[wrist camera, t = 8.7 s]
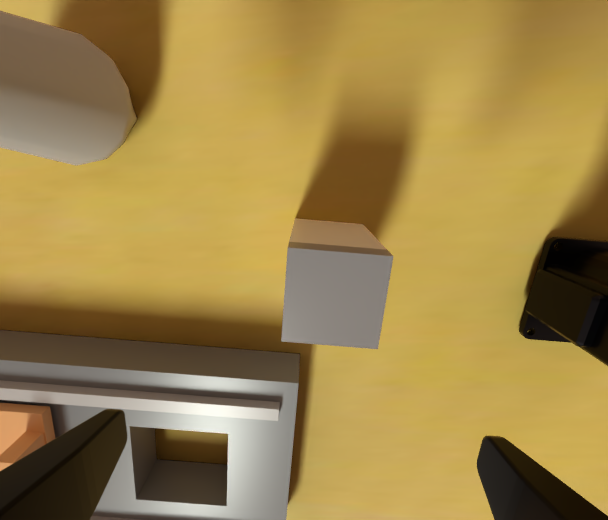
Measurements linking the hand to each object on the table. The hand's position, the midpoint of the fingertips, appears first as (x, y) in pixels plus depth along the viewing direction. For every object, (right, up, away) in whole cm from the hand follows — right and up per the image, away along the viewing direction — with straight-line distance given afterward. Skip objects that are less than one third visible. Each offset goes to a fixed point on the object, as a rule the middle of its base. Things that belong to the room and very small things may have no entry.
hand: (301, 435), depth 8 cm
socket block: (-12, -8, +15) cm, 21 cm away
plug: (+1, +5, +11) cm, 12 cm away
